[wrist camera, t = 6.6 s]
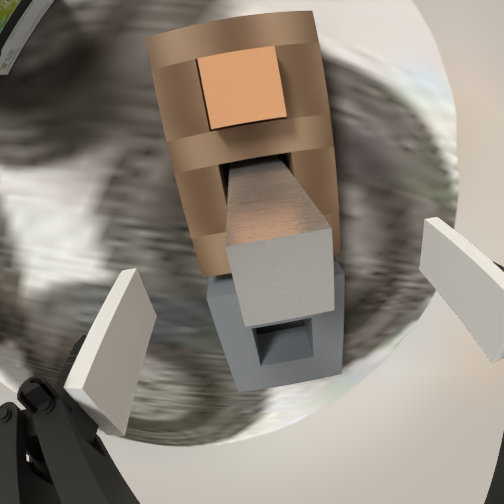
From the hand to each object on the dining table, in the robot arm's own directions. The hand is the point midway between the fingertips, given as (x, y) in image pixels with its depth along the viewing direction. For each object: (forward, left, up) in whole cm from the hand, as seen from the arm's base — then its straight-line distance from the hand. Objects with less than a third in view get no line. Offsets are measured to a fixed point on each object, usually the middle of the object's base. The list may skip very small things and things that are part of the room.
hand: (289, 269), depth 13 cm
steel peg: (0, 0, -15) cm, 15 cm away
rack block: (0, -15, -15) cm, 21 cm away
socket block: (0, +4, -15) cm, 16 cm away
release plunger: (0, +8, -14) cm, 17 cm away
